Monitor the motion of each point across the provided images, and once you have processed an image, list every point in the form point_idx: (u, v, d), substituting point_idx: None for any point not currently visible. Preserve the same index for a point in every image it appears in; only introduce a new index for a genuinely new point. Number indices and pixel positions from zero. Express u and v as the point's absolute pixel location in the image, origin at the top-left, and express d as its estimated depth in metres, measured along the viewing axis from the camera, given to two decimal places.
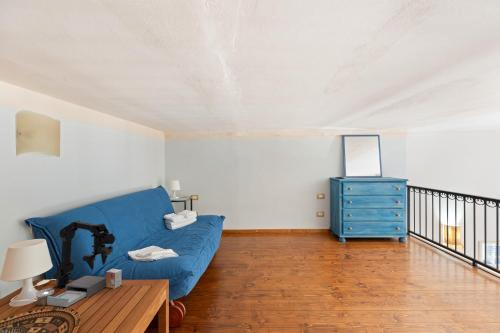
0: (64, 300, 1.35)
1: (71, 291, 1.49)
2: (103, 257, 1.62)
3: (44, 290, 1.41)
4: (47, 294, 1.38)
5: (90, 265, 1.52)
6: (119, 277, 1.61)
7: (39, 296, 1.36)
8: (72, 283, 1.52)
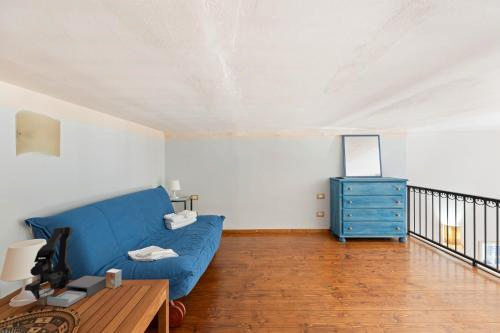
0: (64, 300, 1.35)
1: (71, 291, 1.49)
2: (52, 284, 1.45)
3: (44, 290, 1.41)
4: (47, 294, 1.38)
5: (35, 294, 1.35)
6: (119, 277, 1.61)
7: (39, 296, 1.36)
8: (72, 283, 1.52)
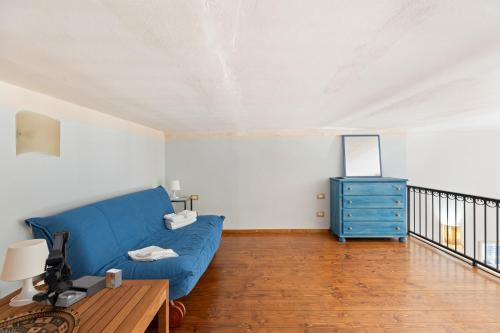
0: (64, 300, 1.35)
1: (71, 291, 1.49)
2: None
3: (70, 294, 1.44)
4: None
5: (50, 301, 1.33)
6: (119, 277, 1.61)
7: None
8: None
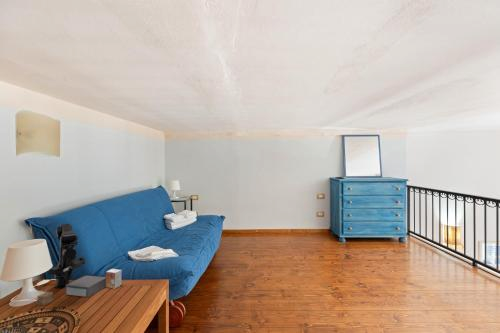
0: (82, 290, 1.47)
1: None
2: None
3: None
4: None
5: (65, 276, 1.41)
6: (119, 277, 1.61)
7: None
8: (72, 283, 1.52)
